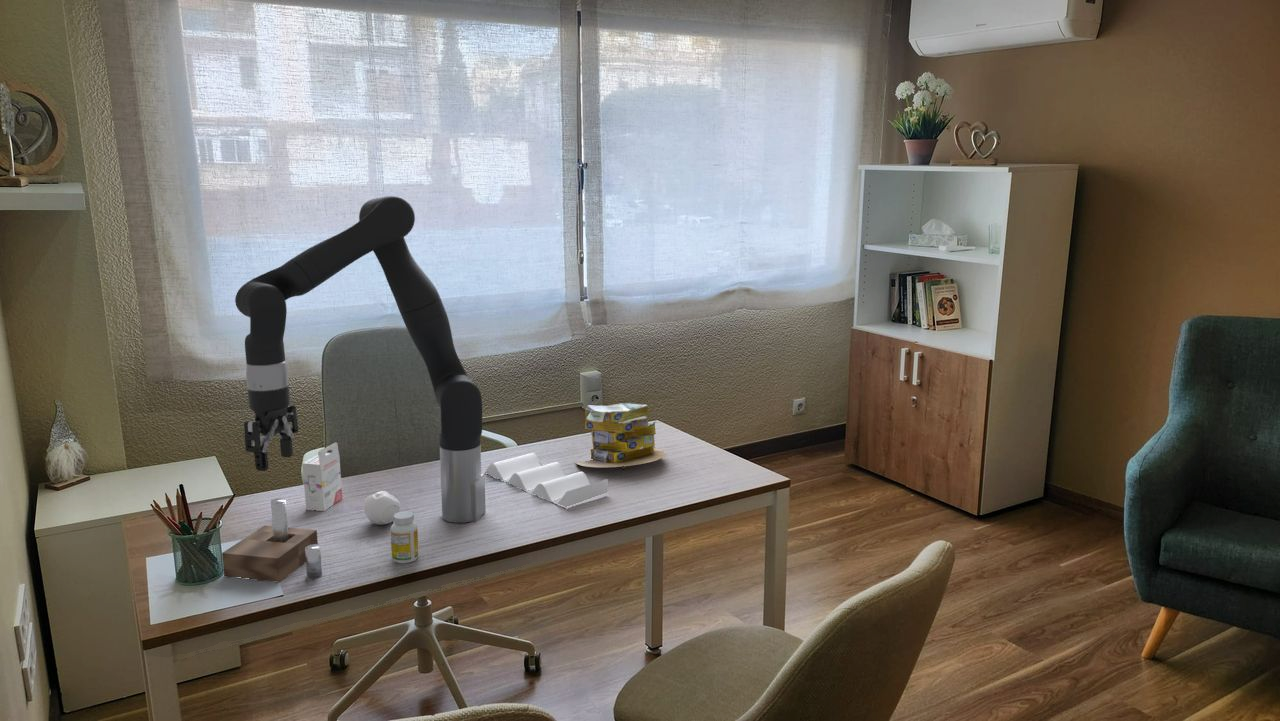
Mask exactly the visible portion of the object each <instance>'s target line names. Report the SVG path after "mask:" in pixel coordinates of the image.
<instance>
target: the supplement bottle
mask: <svg viewBox="0 0 1280 721" xmlns="http://www.w3.org/2000/svg"><path fill="white" fill-rule="evenodd" d="M393 519H394V520H393V524H392V525H391V526H390V545H391V546H390V547H391V548H390V549H391V560H392V561H393V562H394V563H396V562H397V563H396V564H409V562H410V563H412V561H413V562H414V561H416V560H417V559H418V558H419V537H418V532H419V531H418V524H417V523H416V522H414V520H415V517H414V513H413V512H411V511H409V510H408V511H407V510H405V511H404V510H403V511H402V510H401V511H399V512H397V513H395V514H394V516H393Z"/></svg>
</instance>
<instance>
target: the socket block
mask: <svg viewBox="0 0 1280 721" xmlns="http://www.w3.org/2000/svg"><path fill="white" fill-rule="evenodd" d="M288 536H289V540H288V541H286V542H285V543H283V542H274V535H273V525H262V526H261V527H260V528H258V529H257V530H255V531H254V532H252V533H250V534H249V535H247V536H246V537H245V538H243V539H241V540H239V541H238V542H237V543H235V544H234V545H232V546H231V547H229V548H227V549H226V550H224V551H223V552H222V553H221V556H222V557H221V558H222V559H221V560H222V568H223V569H222V570H223V577H224V576H227V577H226V578H231V577H241V578H249V579H248V580H251V579H257V580H256V581H261V580H267V581H266V582H271V581H277V582H276V583H281V582H282V581H283V580H285V579H286V578H287V577H289V576H290V575H292V573H294V572H295V571H297V569H299V568H301V566H303V565H304V564H306V556H305V547H306V546H309V545H313V544H317V545H319V542H318V530H317V529H309V528H308V529H307V528H297V527H288ZM241 578H240V579H241Z"/></svg>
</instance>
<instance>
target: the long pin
mask: <svg viewBox="0 0 1280 721" xmlns="http://www.w3.org/2000/svg"><path fill="white" fill-rule="evenodd" d="M270 509H271V510H270V511H271V522H272V526H273V535H274V542H283V543H285V542H286V541H288V540H289V536H288V528H289V527H288V526H289V525H288V514H287V499H286V498H284V497H277V498H276V497H275V498H273V499H271V500H270Z"/></svg>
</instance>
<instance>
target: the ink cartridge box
mask: <svg viewBox="0 0 1280 721" xmlns="http://www.w3.org/2000/svg"><path fill="white" fill-rule="evenodd" d="M338 446H339V445H338V442H333V443H332V444H329V445H328V446H326V447H324V448H323V449H321V450H319V451H318V452H317V455H315V456H313V457H312V458H311V457H310V459H308V460H306V461H304V462H302V463H301V464H302V465H301V466H302V475H303V487H304V499H305V510H306V509H307V510H306V511H314V510H316V511H317V512H325V511H327V510H329V507H330V508H331V507H333V506H334V505H335V504H337V503H339V501H341V500H342V499H343V492H342V491H343V490H342V486H343V485H342V474H341V461H340V459H341V458H340V453H339V452H340V451H339V447H338ZM329 451H331V452H329ZM316 511H315V512H316Z"/></svg>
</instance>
